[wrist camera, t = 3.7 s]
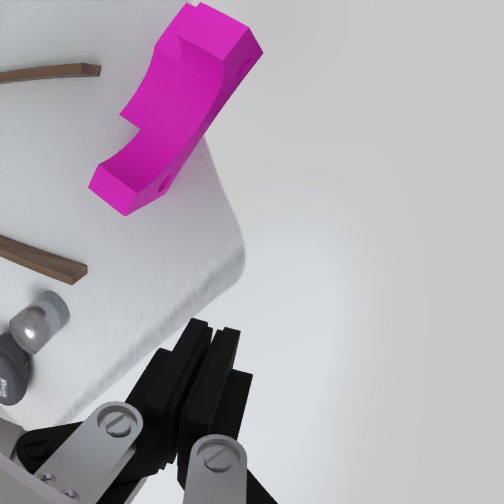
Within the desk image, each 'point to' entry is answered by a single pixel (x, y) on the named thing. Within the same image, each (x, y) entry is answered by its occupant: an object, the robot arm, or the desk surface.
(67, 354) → the desk surface
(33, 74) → the bay
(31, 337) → the metal peg
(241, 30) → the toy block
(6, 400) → the glasses case
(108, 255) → the desk surface
